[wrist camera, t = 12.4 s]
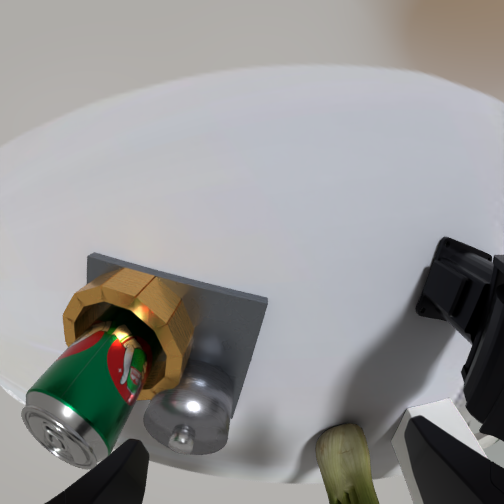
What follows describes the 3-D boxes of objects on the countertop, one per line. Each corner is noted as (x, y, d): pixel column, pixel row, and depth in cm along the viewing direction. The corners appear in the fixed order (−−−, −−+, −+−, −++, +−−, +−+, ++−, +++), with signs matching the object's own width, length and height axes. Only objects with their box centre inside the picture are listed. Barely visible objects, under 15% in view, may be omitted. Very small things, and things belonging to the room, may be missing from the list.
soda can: (106, 337, 21) (25, 439, 9) (113, 285, 19) (5, 383, 8) (161, 362, 21) (104, 485, 9) (175, 311, 20) (101, 443, 8)
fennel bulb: (324, 452, 25) (338, 542, 13) (300, 435, 24) (310, 537, 13) (370, 428, 24) (400, 520, 12) (351, 408, 23) (381, 513, 11)
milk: (390, 440, 25) (436, 593, 3) (406, 406, 23) (475, 580, 2) (432, 430, 24) (488, 564, 3) (450, 396, 23) (529, 541, 2)
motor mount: (267, 297, 20) (269, 362, 13) (233, 411, 23) (224, 477, 16) (94, 252, 20) (32, 288, 12) (96, 369, 23) (59, 420, 16)
